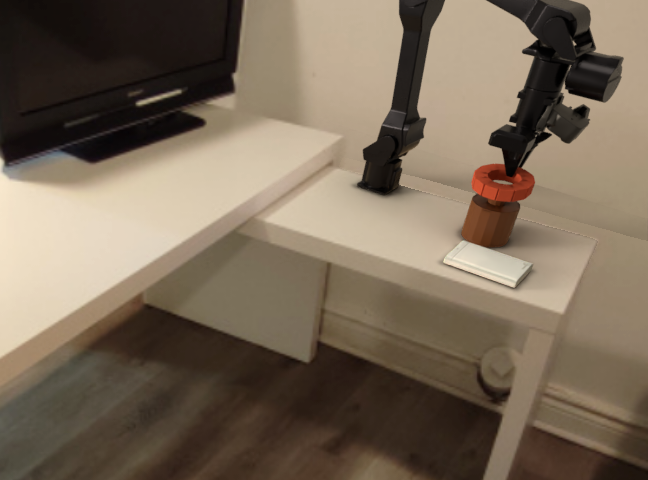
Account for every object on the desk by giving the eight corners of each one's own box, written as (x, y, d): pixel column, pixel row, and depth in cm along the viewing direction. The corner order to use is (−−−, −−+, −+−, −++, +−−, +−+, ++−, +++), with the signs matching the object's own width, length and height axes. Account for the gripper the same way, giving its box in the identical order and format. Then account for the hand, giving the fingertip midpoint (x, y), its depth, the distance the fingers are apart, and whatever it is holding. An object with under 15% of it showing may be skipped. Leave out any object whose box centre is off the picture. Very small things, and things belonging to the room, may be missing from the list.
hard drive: (534, 262, 137) (463, 238, 143) (517, 281, 132) (445, 255, 138) (530, 270, 138) (461, 246, 144) (513, 289, 133) (442, 263, 139)
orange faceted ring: (461, 189, 141) (464, 178, 140) (487, 169, 146) (490, 158, 145) (515, 207, 136) (519, 196, 135) (540, 186, 141) (544, 174, 139)
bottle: (453, 236, 147) (469, 186, 141) (472, 222, 152) (488, 173, 145) (496, 252, 143) (515, 201, 136) (514, 236, 147) (533, 186, 141)
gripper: (573, 113, 123) (537, 205, 133) (612, 84, 133) (577, 172, 143) (502, 95, 129) (473, 185, 139) (545, 69, 139) (516, 154, 149)
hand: (512, 174), depth 142 cm, fingers closed on orange faceted ring, 2 cm apart
